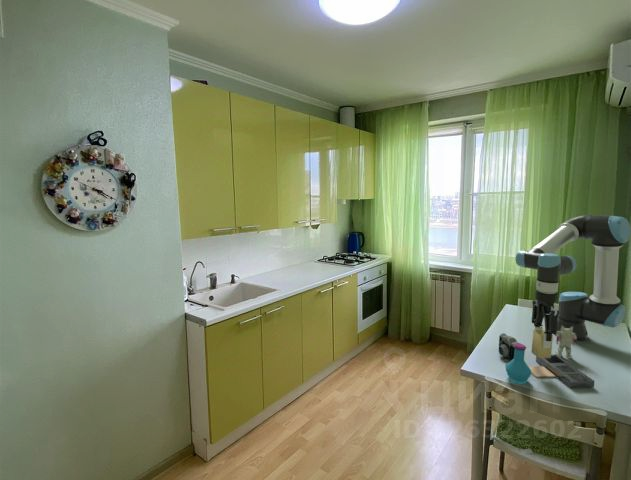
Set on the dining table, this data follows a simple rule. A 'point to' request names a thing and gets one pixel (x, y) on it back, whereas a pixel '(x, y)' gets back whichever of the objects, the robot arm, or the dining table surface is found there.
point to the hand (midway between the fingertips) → (541, 344)
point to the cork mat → (541, 372)
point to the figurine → (565, 341)
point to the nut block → (540, 345)
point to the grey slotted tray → (566, 372)
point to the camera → (507, 346)
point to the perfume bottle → (518, 366)
